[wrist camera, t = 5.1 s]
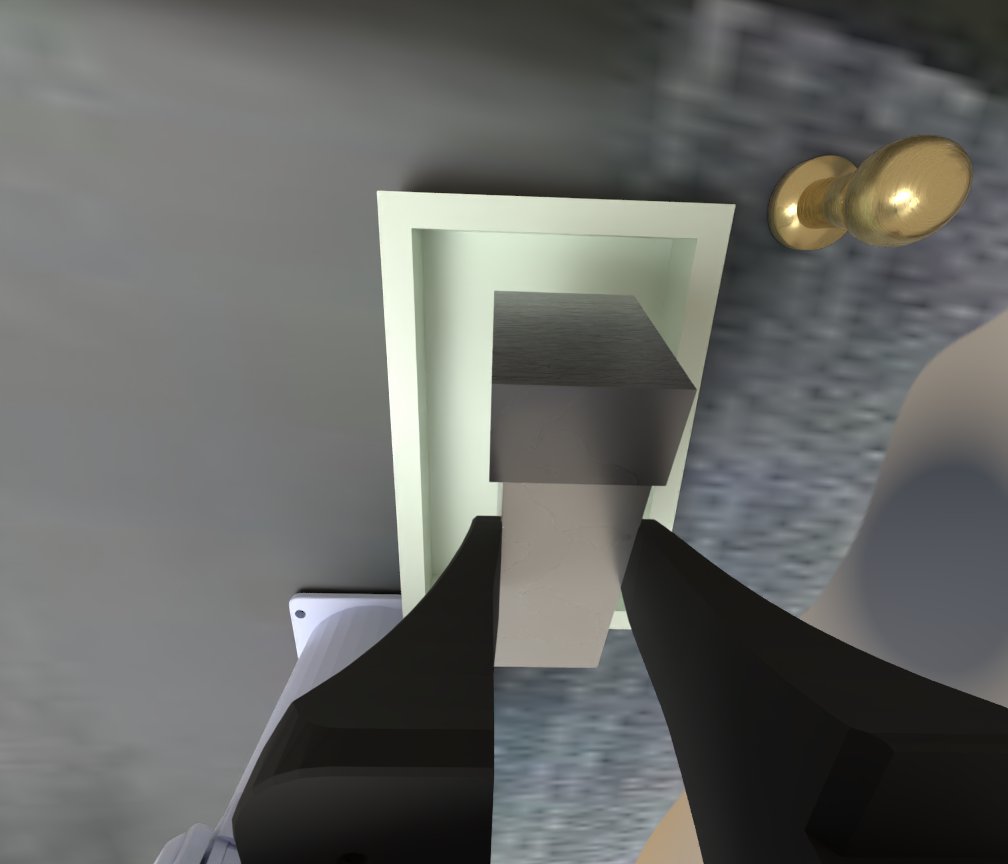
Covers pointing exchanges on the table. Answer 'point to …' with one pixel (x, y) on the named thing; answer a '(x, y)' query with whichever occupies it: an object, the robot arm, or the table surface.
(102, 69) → the table surface
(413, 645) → the robot arm
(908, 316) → the table surface
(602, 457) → the strut
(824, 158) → the door knob
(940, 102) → the table surface
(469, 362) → the tray
